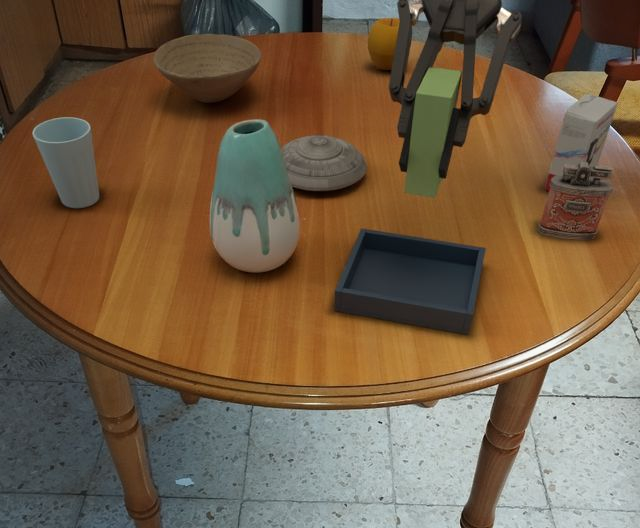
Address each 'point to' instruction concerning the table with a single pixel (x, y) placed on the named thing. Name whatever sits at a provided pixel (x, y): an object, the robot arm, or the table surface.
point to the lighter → (576, 201)
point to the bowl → (208, 64)
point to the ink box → (582, 134)
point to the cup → (69, 159)
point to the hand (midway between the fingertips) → (422, 170)
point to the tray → (411, 280)
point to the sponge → (430, 129)
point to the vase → (253, 200)
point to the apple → (383, 42)
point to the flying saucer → (322, 163)
